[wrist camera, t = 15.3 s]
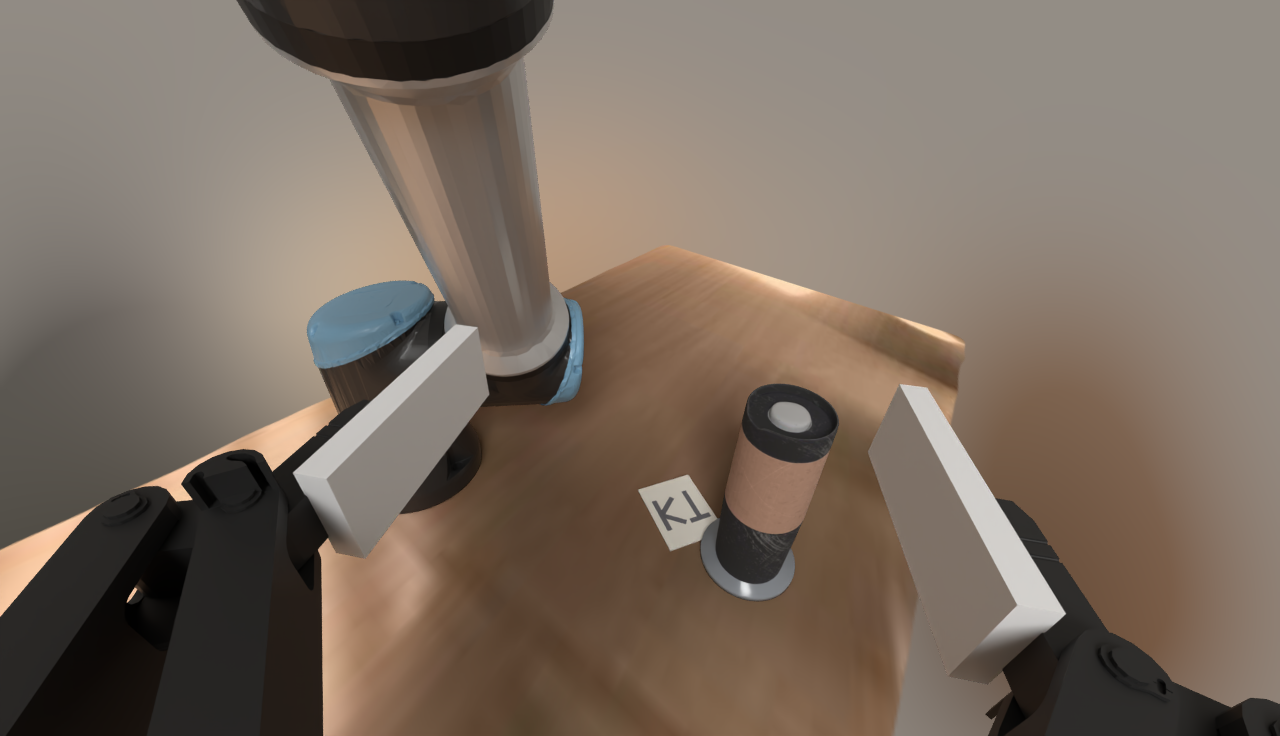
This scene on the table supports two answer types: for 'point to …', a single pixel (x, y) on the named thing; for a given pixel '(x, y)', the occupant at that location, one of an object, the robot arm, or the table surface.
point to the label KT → (678, 511)
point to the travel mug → (772, 478)
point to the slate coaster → (736, 586)
